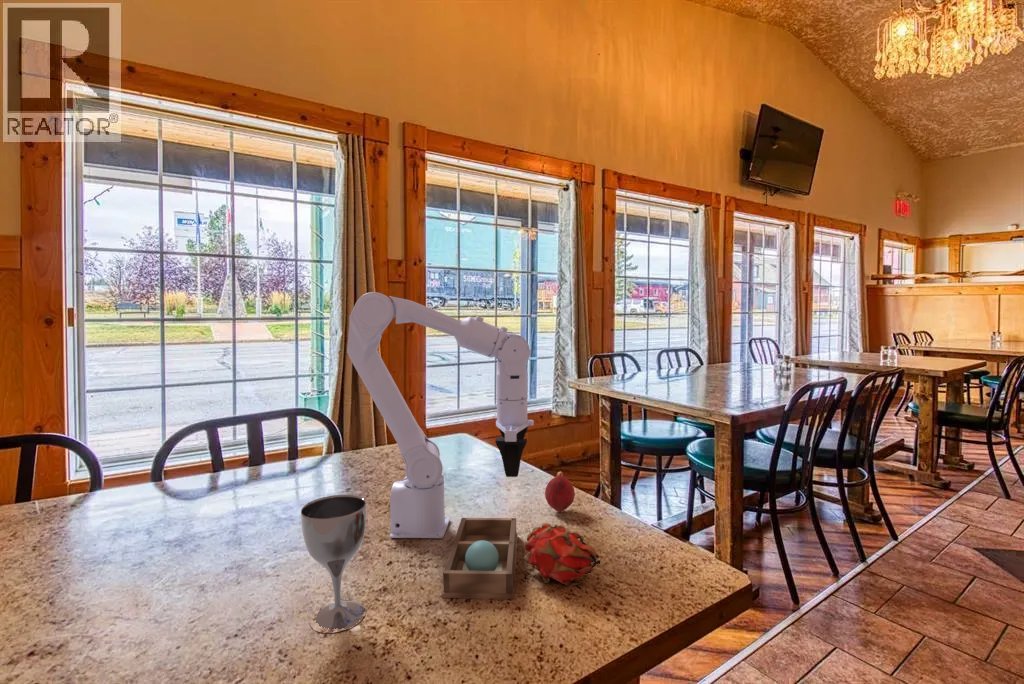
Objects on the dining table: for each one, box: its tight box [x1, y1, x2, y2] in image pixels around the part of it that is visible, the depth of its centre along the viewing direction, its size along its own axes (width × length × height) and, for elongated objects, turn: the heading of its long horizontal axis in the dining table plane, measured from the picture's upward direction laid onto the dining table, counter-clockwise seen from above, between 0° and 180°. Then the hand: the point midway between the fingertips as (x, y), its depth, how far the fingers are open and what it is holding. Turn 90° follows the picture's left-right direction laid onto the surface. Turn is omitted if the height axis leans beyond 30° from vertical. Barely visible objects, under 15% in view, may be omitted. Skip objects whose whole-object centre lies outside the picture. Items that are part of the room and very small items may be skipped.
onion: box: [544, 471, 576, 513], centre depth 99 cm, size 6×6×8 cm
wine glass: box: [300, 494, 367, 630], centre depth 66 cm, size 8×8×15 cm
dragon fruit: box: [522, 522, 601, 587], centre depth 76 cm, size 8×8×12 cm
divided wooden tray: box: [441, 517, 519, 600], centre depth 80 cm, size 10×19×3 cm, turn 177°
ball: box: [465, 540, 499, 571], centre depth 75 cm, size 5×5×5 cm
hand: (512, 469), depth 95 cm, fingers open, 7 cm apart
